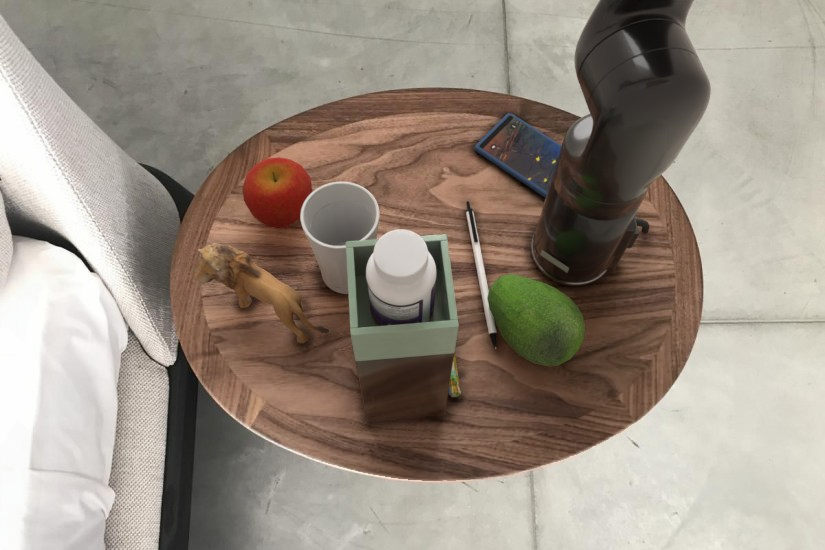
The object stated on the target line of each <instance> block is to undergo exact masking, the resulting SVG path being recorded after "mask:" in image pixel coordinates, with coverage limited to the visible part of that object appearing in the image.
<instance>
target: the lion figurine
mask: <svg viewBox="0 0 825 550" xmlns="http://www.w3.org/2000/svg"><path fill="white" fill-rule="evenodd" d="M197 251H198V252H199V257H200V262H199V267H200V268H199V270H198V271H197V272H196V274H195V276H194V278H195V280H196V282H200V283H202V284H208V283H210V282H211V281H213V280H215V281H216V282H218V283H220V284H221V283H222V284H223V285H224V286H225V287H227V288H228V289H231V290H233V291H234V293H235V294H236V296H237V297H238V298H239V299H238V306H239V307H240V309H246V308H249V307H250V305H251V304H252V303H253V302H252V297H253V298H255V299H257V300H259V302H262V303H264V304H267V305H269V306H272V307H273V311H274V313H275V315H276V317H277V318H278V320H279V321H280V322H281V323H282V324H283V325H284V326H285V328H287V329H288V330H290V331H291V332H293V333H294V334H295V336H296V337H295V339H296V342H297V343H299V344H304V343H306V342H307V341H308V339H309V336H308V335H307V333H306V332H305V331H304V329H302V328H301V327H299V326H298V325H297V324H296V322H295V320H294V314H295V315H296V316H297V317H298V318H299V319H300V320H301V322H302V323H303V324H304V325H305V327H307V328H308V329H310V330H312V331H315V332H319V333H321V334H322V335H323V334H329V333H330V329H329V328H328V327H324V326H322V325H315V324H313V323H311V321H309V319H308V318H307V316H306V315H305V312H306V310H305V306H304V304H303V302H302V296H301V295H300V294H299V292H297V290H296V289H294V288H293V287H291V286H289V285H288V284H286V283H284V282H282V281H280V280H279V279H277V278H276V277H275V276H274V275H273V274H271V273H270V272H268V271H267V270H265V269H263V268H262V267H260V266H258V265H257V264H256V263H255V262H254V261H253V258H252V257H251V256H250V254H248V253H246V252H245V251H244V250H239V249H237V248H236V247H233V246H232V245H227V244H222V243H219V242H213V243H211V244H207V245H205V246H204V247H202V248H199V249H197Z"/></svg>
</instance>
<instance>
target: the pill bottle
mask: <svg viewBox="0 0 825 550" xmlns="http://www.w3.org/2000/svg"><path fill="white" fill-rule="evenodd" d="M420 236H421V235H419V234H418V233H416V232H414V231H412V230H409V229H404V228H403V229H402V228H401V229H393V230H390V231H388V232H385V233H384V234H383V235H381V236H380V237H379V238H378V239H379V240H378V241H377V243H376V244H375V247H374V251H373V254H372V255H371V256H370V258H369V260H368V263H367V267H366V280H367V287H368V295H369V303H370V311H371V315H372V318H373V320H374V322H375V323H376V324H377V326H386V325H399V324H411V323H423V322H430V320H431V318H432V315H433V311H434V303H435V288H436V265H435V262H434V259H433V257H432V256H431V254H430V253H429V252H428V249H427V246H426V243H425V242H424V240H423V239H422V238H421V237H420Z"/></svg>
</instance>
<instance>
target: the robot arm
mask: <svg viewBox="0 0 825 550" xmlns="http://www.w3.org/2000/svg"><path fill="white" fill-rule="evenodd" d="M694 1H695V0H598V2H597V4H596V6H595V7H594V9H593V10H592V12H591V14H590V15H589V18H588V19H587V21H586V23H585V24H584V27H583V29H582V31H581V33H580V35H579V38H578V40H577V43H576V47H575V51H574V57H573V58H574V60H573V61H574V68H575V74H576V78H577V81H578V84H579V87H580V89H581V93H582V96H583V98H584V100H585V103H586V106H587V108H588V112H589V113H588V114H586V115H583V116H581V117H580V118H578V119H577V120H576V121H575V122H574V123H572V125H571V126H570V127H569V128H568V130H567V132H566V133H565V136H564V137H563V140H562V144H561V145H562V146H561V150H560V153H559V157H558V160H557V163H556V166H555V170H554V173H553V176H552V179H551V183H550V186H549V189H548V192H547V195H546V198H545V199H544V202H543V205H542V207H541V212H540V215H539V217H538V222H537V224H536V228H535V230H534V233H533V235H532V238H531V242H530V254H531V257H532V260H533V262H534V265H535V266H536V268H537V269H538V271H540V272H541V274H542V275H543V276H545V277H546V278H548V279H549V280H550V281H552V282H554V283H556V284H559V285H562V286H567V287H583V286H587V285H591V284H594V283H595V282H597V281H598V280H600V279H601V278H602V277H603V276H604V275H605V274H606V273H608V272H614V271H615V270H616V268H617V266H618V265H619V263H620V261H621V259H622V257H623V255H624V254H625V252H626V250H627V249H632V248H633V246H634V244H635V242H636V241H637V239H638V237H639V236H640V231H639V227H641V233H642V234H644V235H647V234H648V233H649V231H650V223H649V221H647V220H644V219H642V218H637V217H636V215H637V213H638V211H639V208H640V207H641V205H642V203H643V201H644V199H645V197H646V195H647V193H648V191H649V189H650V187H651V186H652V184H653V182H654V181H655V180H656V179H658V178H659V177H661V176H662V175H663V174H664V173H666V171H667V170H668V169H669V168H670V167H671V166H672V165H673V163H674V162H675V161H676V160H677V158H678V156H679V154H680V153H681V151H682V150H683V148H684V146H685V145H686V143H687V142H688V140H689V139H690V138H691V137H692V134H693V133H694V132H695V130H696V129H697V127H698V125H699V124H700V122H701V120H702V119H703V117H704V115H705V113H706V111H707V108H708V107H709V103H710V99H711V94H712V86H711V82H710V78H709V76H708V74H707V72H706V71H705V68H704V66H703V64H702V62H701V59H700V57H699V55H698V52H697V51H696V49H695V47H694V44H693V43H692V41H691V39H690V37H689V35H688V33H687V30H686V24H687V23H686V22H687V17H688V15H689V12H690V10H691V8H692V6H693V3H694Z"/></svg>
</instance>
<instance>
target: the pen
mask: <svg viewBox="0 0 825 550" xmlns="http://www.w3.org/2000/svg"><path fill="white" fill-rule="evenodd" d="M465 204H466V208H467V209H466V210H465V214H466V219H467V226H468V231H469V236H470V241H471V246H472V252H473V257H474V262H475V267H476V274H477V278H478V283H479V289H480V295H481V301H482V305H483V310H484V317H485V322H486V327H487V332H488V336H489V339H490V340H491V343H492V346H493V348H494V349H495V350H496V349H497V346H498V345H497V344H498V331H497V325H496V322H495V319H494V317H493V315H492V313H491V311H490V309H489V304H488V299H487V297H488V293H489V286H488V281H487V274H486V270H485V264H484V259H483V254H482V250H481V244H480V239H479V233H478V229H477V224H476V223H477V222H476V218H475V213H474V209H472V208H471V203H470V201H468V200H467V201H466V202H465Z"/></svg>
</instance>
